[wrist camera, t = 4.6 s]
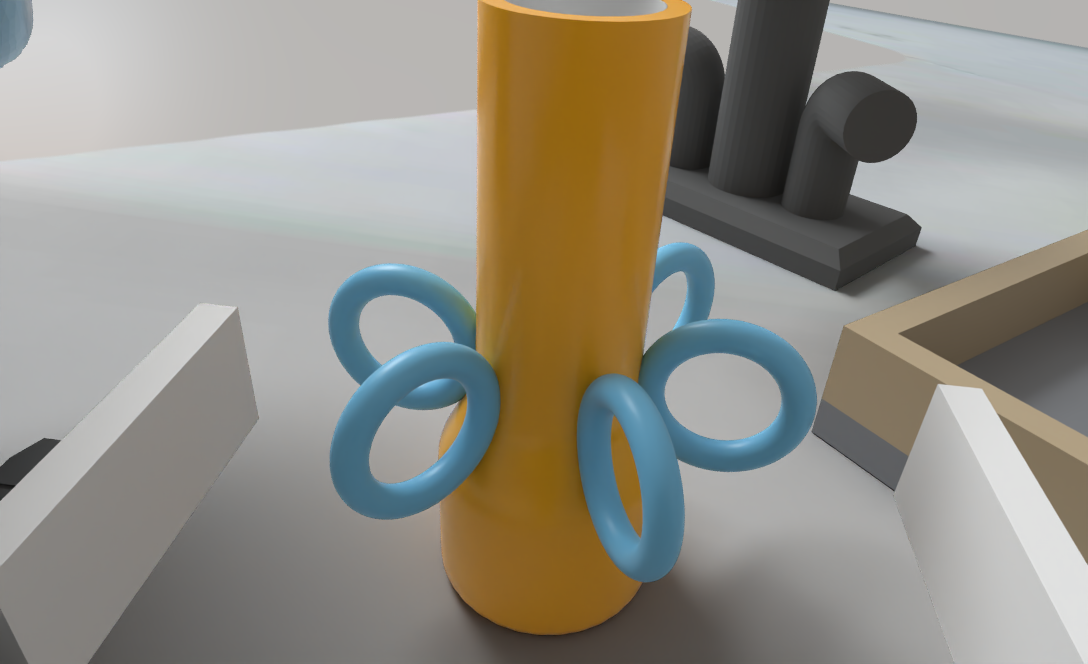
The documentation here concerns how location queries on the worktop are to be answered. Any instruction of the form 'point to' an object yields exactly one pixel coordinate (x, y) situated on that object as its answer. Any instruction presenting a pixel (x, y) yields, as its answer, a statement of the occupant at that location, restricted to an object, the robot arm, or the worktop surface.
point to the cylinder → (559, 331)
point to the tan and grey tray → (976, 371)
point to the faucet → (786, 148)
